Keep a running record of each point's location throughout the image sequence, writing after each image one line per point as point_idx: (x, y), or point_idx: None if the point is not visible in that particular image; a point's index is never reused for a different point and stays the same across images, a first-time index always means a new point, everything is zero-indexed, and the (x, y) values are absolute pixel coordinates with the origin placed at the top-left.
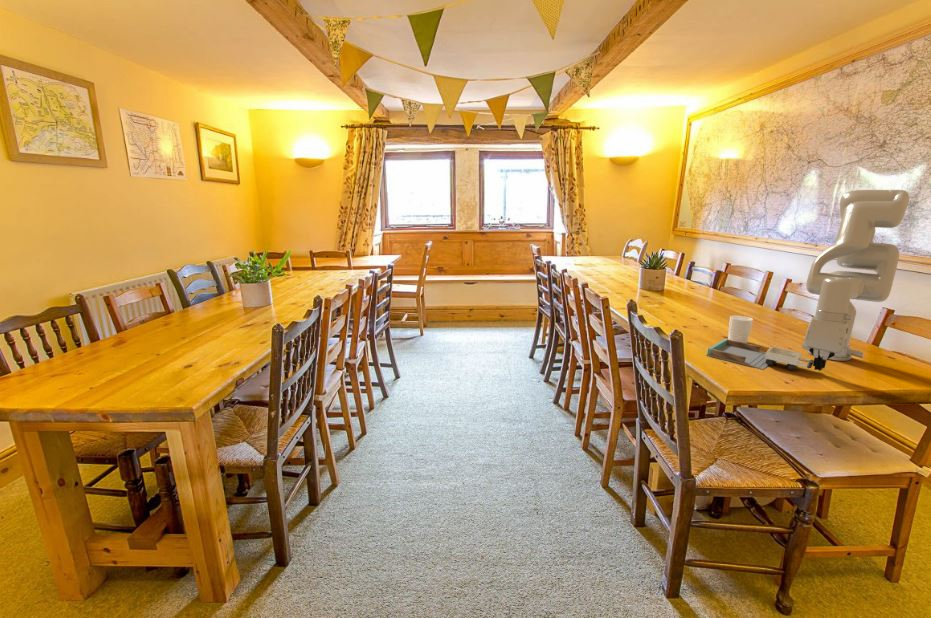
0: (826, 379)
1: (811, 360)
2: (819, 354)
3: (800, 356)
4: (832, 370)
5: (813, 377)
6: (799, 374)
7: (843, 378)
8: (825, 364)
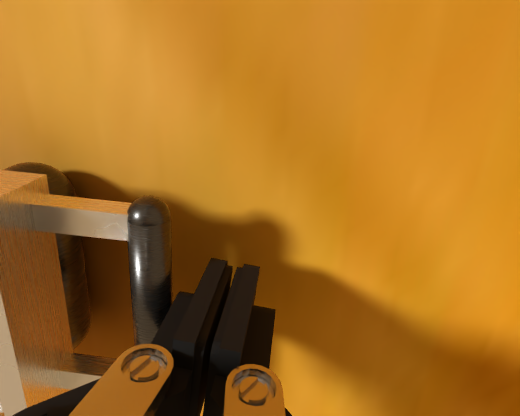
0: (299, 352)
1: (141, 258)
2: (167, 385)
3: (19, 269)
4: (369, 61)
5: None
6: None
7: (427, 259)
8: (273, 326)
